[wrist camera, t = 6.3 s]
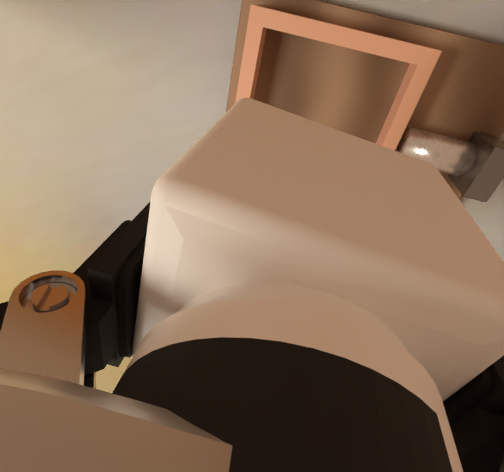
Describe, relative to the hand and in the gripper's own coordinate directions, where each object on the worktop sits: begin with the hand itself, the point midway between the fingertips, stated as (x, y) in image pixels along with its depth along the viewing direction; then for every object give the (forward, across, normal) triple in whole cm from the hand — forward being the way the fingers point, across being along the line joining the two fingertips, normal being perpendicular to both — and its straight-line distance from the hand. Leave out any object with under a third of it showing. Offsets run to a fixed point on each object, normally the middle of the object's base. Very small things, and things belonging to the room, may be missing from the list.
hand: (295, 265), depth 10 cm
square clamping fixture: (+20, -3, +3) cm, 20 cm away
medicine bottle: (+4, 0, 0) cm, 4 cm away
